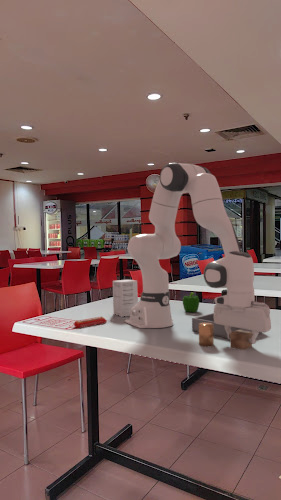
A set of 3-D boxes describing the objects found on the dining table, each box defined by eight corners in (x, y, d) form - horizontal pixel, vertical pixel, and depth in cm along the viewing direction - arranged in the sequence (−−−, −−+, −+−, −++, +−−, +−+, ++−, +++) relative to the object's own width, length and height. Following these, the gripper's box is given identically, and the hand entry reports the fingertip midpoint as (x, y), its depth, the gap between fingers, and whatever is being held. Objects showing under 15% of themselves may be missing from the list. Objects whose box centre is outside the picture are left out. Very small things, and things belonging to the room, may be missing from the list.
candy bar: (76, 329, 155) (76, 322, 155) (72, 327, 158) (71, 320, 158) (108, 323, 165) (108, 316, 165) (103, 322, 168) (103, 315, 168)
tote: (192, 330, 148) (192, 318, 147) (216, 324, 158) (216, 312, 158) (239, 340, 131) (238, 326, 131) (262, 332, 142) (262, 319, 142)
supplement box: (138, 314, 181) (138, 280, 181) (122, 317, 176) (121, 282, 176) (128, 311, 189) (128, 279, 189) (112, 314, 184) (112, 280, 184)
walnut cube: (230, 347, 125) (230, 332, 124) (239, 344, 128) (238, 329, 128) (243, 350, 121) (243, 334, 121) (251, 346, 124) (251, 332, 124)
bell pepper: (182, 310, 191) (182, 290, 191) (198, 310, 190) (198, 290, 190) (183, 313, 183) (182, 293, 182) (199, 313, 182) (199, 293, 182)
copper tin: (196, 344, 128) (195, 324, 128) (205, 341, 131) (204, 322, 131) (207, 347, 124) (207, 326, 124) (216, 344, 128) (216, 324, 127)
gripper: (274, 302, 118) (275, 345, 119) (221, 296, 134) (222, 334, 134) (264, 304, 114) (264, 349, 114) (210, 298, 129) (211, 337, 130)
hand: (241, 341), depth 124 cm, fingers open, 7 cm apart
